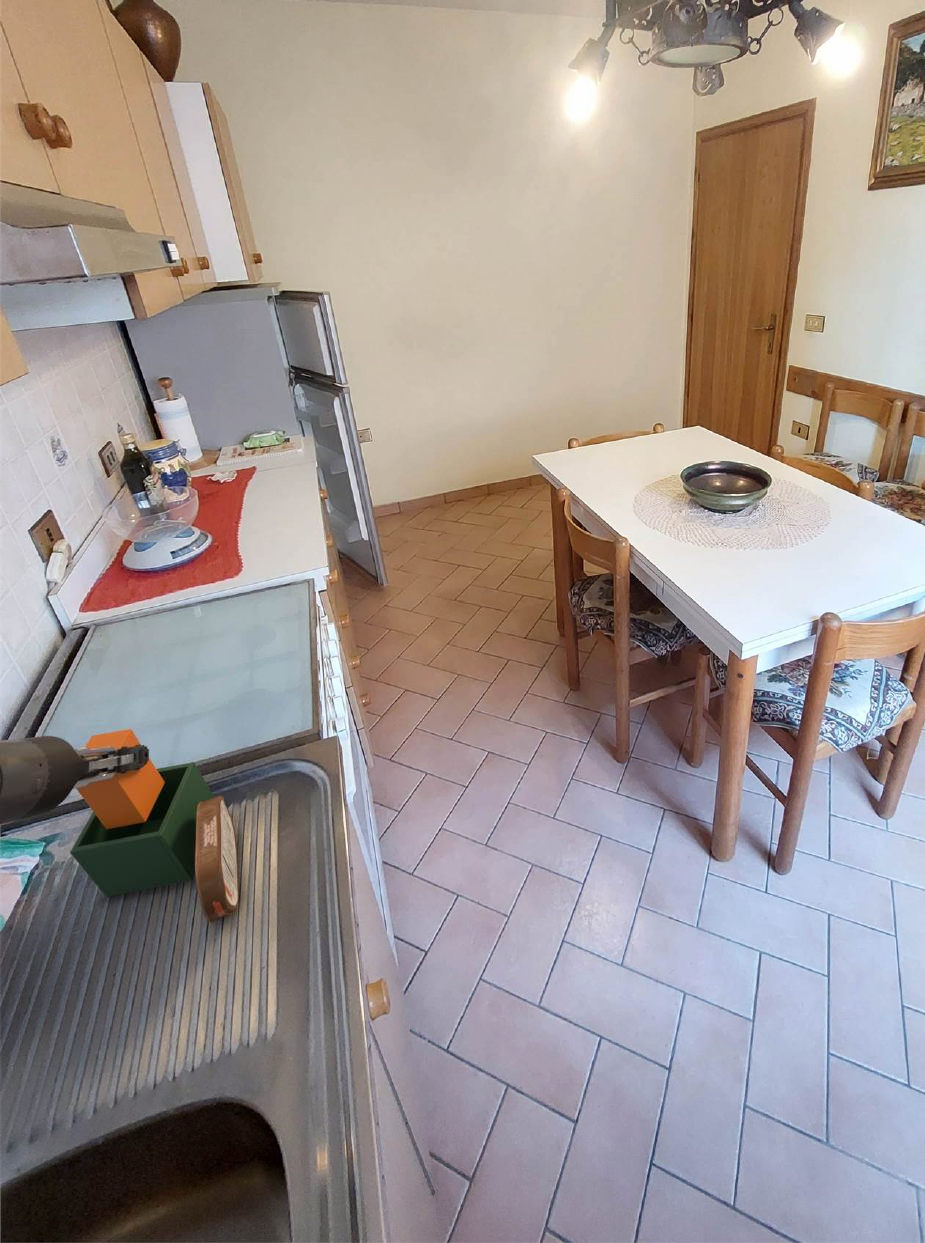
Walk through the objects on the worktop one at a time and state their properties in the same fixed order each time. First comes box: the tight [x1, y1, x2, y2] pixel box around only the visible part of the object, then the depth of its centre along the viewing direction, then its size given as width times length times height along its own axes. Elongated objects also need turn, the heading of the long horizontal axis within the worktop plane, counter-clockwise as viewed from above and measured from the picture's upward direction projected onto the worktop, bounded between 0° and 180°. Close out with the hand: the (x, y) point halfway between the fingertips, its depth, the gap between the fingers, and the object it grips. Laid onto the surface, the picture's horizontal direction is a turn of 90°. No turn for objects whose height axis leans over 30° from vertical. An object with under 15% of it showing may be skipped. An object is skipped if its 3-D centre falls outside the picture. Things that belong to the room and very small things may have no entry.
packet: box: [75, 728, 165, 829], centre depth 70 cm, size 4×6×10 cm
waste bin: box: [69, 761, 215, 898], centre depth 75 cm, size 10×10×10 cm
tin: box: [194, 795, 239, 924], centre depth 71 cm, size 15×3×8 cm, turn 27°
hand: (122, 759), depth 71 cm, fingers closed on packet, 4 cm apart
